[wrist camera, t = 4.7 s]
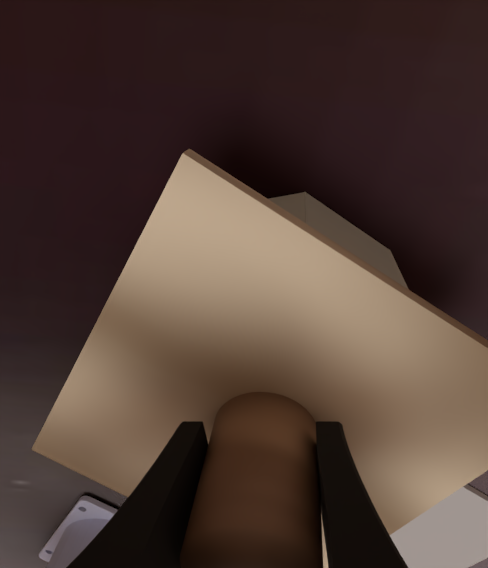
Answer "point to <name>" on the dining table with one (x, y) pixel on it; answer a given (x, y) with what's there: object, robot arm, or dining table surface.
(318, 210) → the bowl
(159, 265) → the board
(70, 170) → the dining table surface
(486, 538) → the mat
